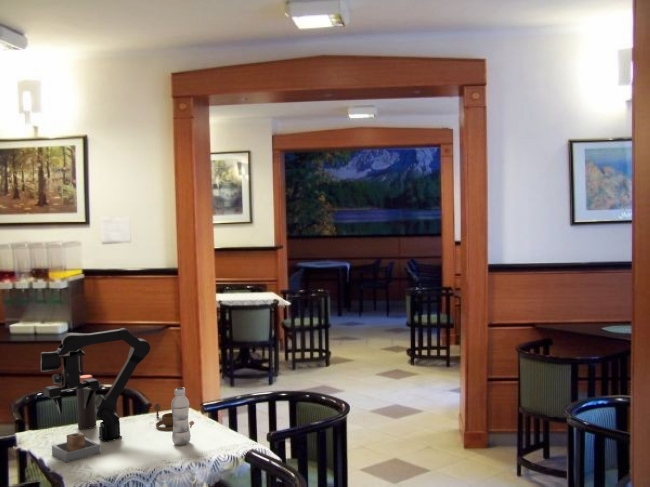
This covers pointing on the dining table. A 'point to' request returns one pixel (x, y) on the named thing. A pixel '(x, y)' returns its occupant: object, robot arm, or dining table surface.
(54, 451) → the charcoal tray
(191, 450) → the dining table surface
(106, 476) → the dining table surface
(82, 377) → the vinegar
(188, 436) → the plastic bottle
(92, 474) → the dining table surface
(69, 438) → the walnut block
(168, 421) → the place setting
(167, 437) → the dining table surface
